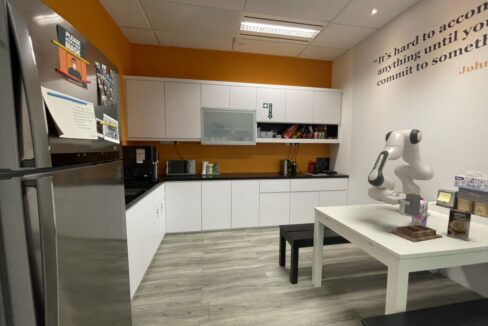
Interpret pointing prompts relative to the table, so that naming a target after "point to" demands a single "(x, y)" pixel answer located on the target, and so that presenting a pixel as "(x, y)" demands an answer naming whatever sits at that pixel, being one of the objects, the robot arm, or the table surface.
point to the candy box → (421, 214)
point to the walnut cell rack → (416, 233)
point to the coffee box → (459, 224)
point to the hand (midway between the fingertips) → (414, 203)
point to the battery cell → (412, 204)
